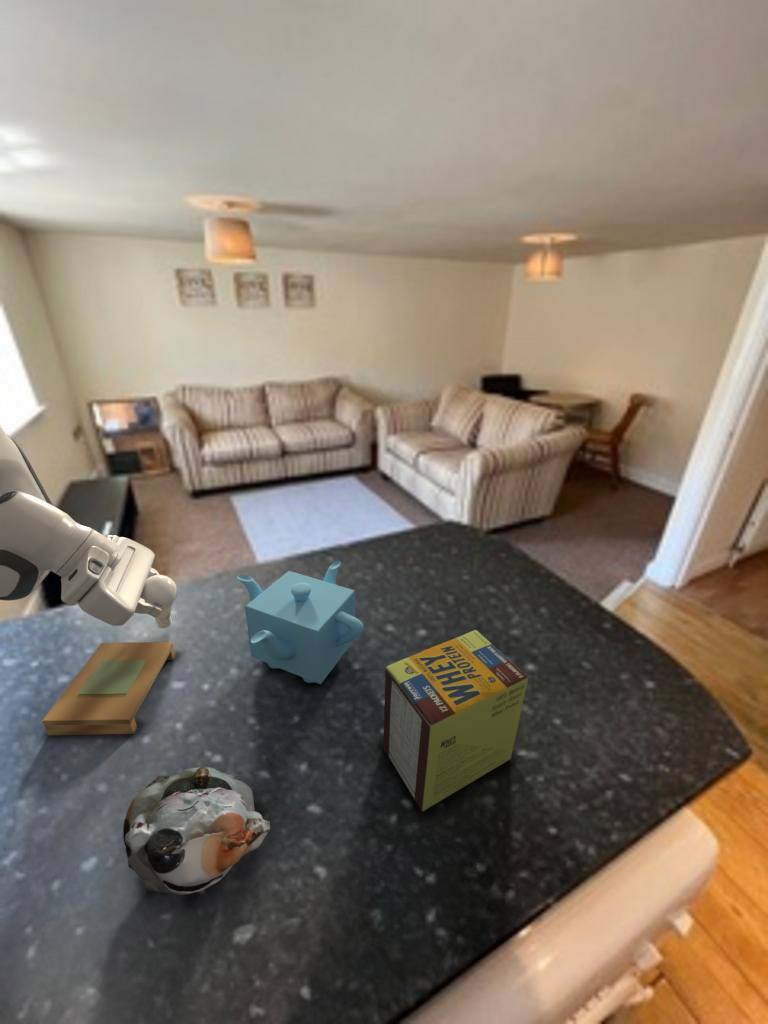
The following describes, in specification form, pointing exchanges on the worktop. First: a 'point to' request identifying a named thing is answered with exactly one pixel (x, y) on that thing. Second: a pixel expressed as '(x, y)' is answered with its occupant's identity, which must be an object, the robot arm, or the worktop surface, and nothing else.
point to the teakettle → (301, 623)
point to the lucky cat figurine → (191, 829)
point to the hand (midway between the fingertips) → (163, 599)
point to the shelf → (109, 689)
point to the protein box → (451, 715)
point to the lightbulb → (160, 597)
